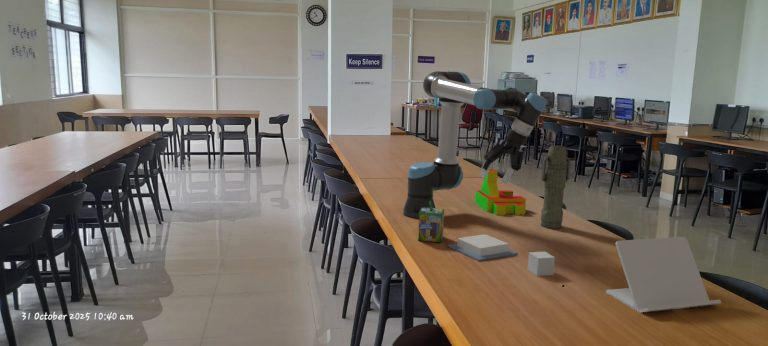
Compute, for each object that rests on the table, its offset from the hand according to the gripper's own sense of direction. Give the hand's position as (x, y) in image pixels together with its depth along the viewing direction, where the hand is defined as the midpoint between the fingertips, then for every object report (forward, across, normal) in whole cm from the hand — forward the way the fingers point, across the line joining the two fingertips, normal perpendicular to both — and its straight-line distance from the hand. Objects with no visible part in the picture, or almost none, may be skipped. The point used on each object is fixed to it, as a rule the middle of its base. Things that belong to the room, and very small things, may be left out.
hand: (493, 179), depth 215 cm
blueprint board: (+21, -10, -20) cm, 30 cm away
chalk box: (+30, -16, 0) cm, 34 cm away
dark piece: (+12, +40, -8) cm, 42 cm away
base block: (+21, -10, -20) cm, 30 cm away
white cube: (+12, -10, -44) cm, 47 cm away
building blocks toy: (+22, +46, +24) cm, 56 cm away
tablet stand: (-1, 0, -76) cm, 76 cm away
